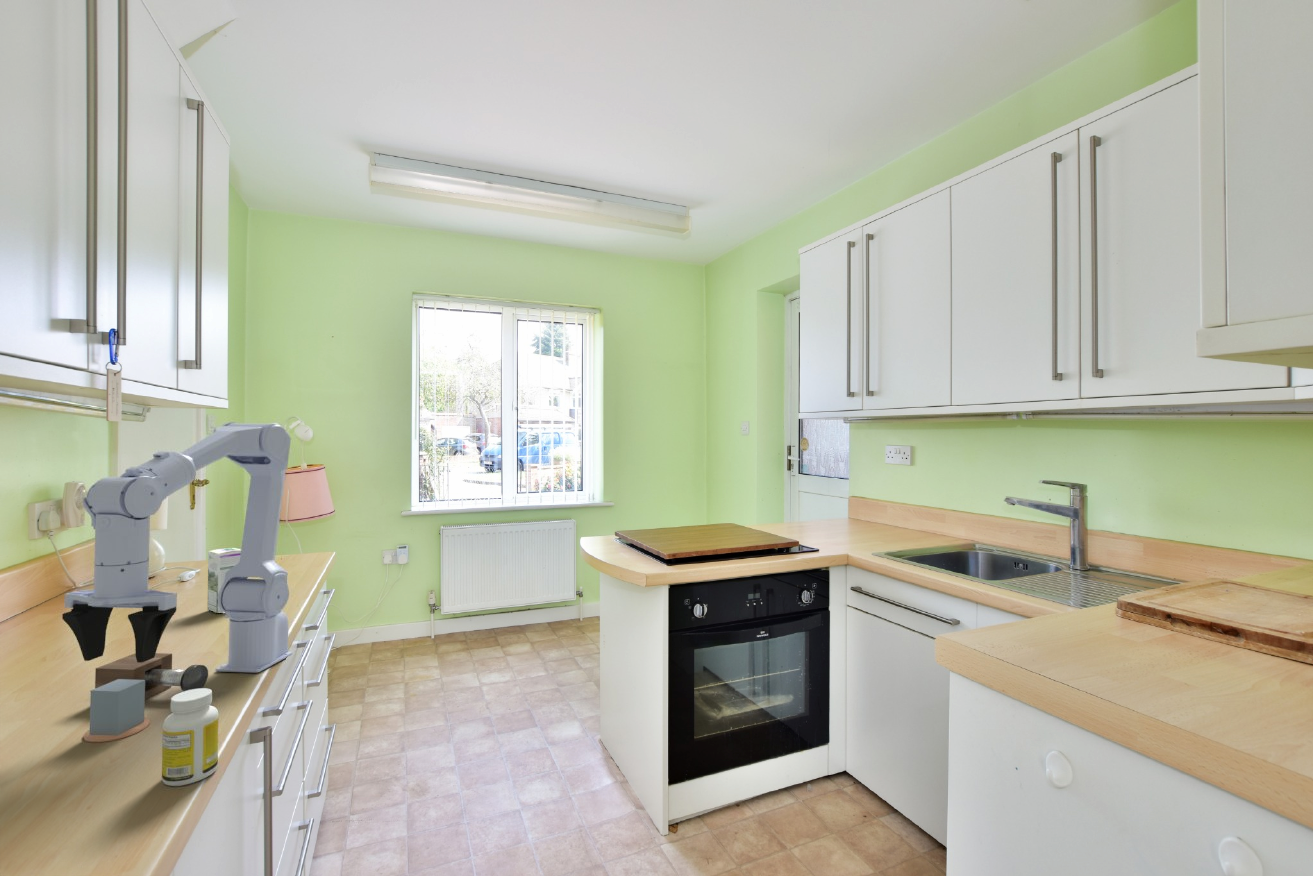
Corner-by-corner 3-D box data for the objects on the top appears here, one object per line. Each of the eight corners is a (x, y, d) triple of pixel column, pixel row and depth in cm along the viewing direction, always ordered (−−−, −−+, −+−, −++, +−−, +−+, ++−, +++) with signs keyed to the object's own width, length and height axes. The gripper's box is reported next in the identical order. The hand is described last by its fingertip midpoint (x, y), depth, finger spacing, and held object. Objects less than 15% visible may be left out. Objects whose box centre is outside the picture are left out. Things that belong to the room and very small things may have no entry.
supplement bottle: (210, 758, 76) (212, 682, 76) (223, 773, 73) (225, 693, 73) (156, 776, 72) (158, 695, 72) (167, 793, 69) (169, 708, 69)
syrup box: (244, 609, 143) (246, 549, 143) (216, 615, 138) (218, 552, 138) (233, 605, 146) (235, 546, 146) (205, 611, 141) (207, 550, 141)
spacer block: (117, 721, 85) (118, 679, 85) (143, 722, 85) (145, 680, 85) (89, 734, 81) (90, 690, 81) (117, 735, 81) (118, 691, 81)
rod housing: (136, 685, 98) (137, 652, 98) (171, 687, 98) (172, 653, 98) (94, 704, 91) (95, 668, 91) (132, 705, 91) (133, 669, 91)
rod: (157, 684, 96) (158, 659, 96) (207, 686, 96) (208, 661, 96) (135, 694, 92) (135, 669, 92) (187, 696, 92) (188, 670, 92)
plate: (117, 718, 87) (117, 716, 87) (161, 719, 86) (162, 717, 86) (69, 741, 80) (69, 739, 80) (117, 743, 80) (117, 741, 80)
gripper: (42, 566, 80) (39, 668, 80) (146, 569, 79) (143, 671, 79) (93, 556, 87) (91, 650, 87) (190, 559, 86) (187, 653, 86)
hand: (119, 659), depth 83 cm, fingers open, 7 cm apart
